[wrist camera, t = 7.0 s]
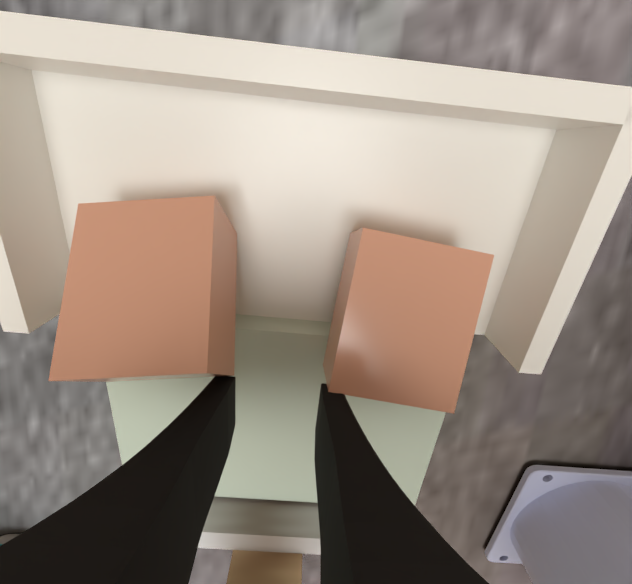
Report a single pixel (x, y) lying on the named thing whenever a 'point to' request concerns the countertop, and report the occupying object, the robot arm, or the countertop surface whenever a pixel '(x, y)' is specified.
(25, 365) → the countertop surface
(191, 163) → the tray
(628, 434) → the countertop surface
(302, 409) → the board
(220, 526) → the scraper
